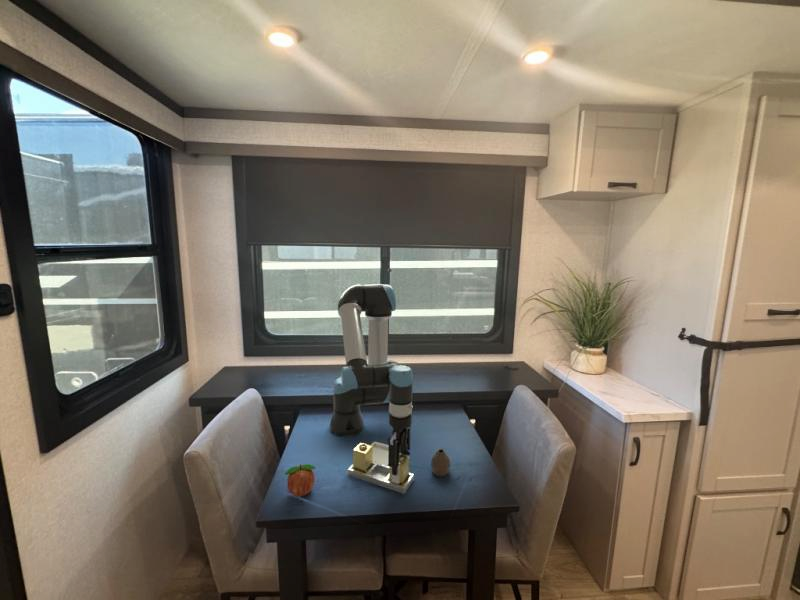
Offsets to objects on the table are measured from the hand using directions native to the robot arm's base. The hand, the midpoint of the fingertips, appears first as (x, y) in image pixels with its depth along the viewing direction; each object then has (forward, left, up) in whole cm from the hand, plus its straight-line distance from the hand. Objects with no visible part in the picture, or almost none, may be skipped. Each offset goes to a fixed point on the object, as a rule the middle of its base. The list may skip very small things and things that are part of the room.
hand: (399, 476), depth 117 cm
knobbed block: (0, 0, -2) cm, 2 cm away
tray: (-13, +11, -3) cm, 17 cm away
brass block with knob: (-14, 0, -2) cm, 15 cm away
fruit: (-27, -18, -3) cm, 33 cm away
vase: (+11, +12, -3) cm, 16 cm away
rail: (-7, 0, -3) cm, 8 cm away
